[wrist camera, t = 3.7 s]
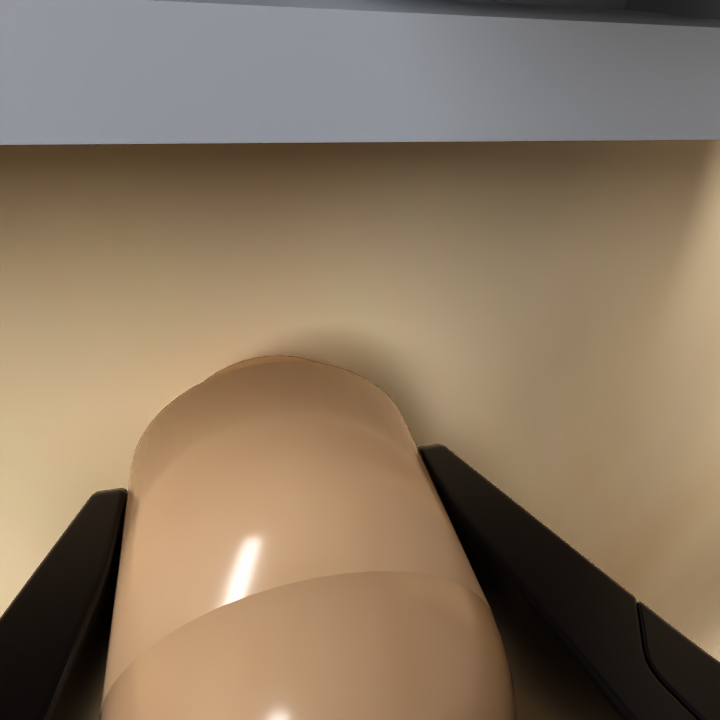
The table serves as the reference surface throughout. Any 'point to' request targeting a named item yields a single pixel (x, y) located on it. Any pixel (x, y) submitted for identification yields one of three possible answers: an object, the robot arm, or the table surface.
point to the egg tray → (357, 71)
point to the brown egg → (294, 563)
